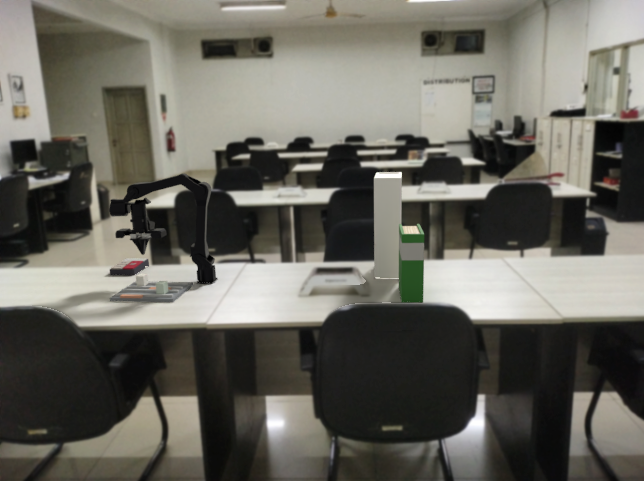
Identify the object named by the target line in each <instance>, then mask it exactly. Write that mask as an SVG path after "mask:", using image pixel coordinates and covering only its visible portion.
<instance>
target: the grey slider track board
mask: <svg viewBox="0 0 644 481" xmlns="http://www.w3.org/2000/svg"><path fill="white" fill-rule="evenodd" d="M158 282H159V281H148V284H147V285H146V286H137V283H136V280H135V281H133V282H132V283H131V284H129V285H127V286H125V287H124V288H122V289H121V290H120V291H118V292H116V293H114V295H112V296H110V297H109V301H110V302H132V303H133V302H137V303H139V302H141V303H143V302H144V303H149V302H150V303H175V301H177V300H178V299H179V298H180V297H181V296H182V295H184V294H185V293H186V292H187V291H188V290H189V289H191V288H192V287H193V286H194V281H167V282H168V292H167V293H166V294H156V283H158Z"/></svg>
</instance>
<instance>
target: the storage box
mask: <svg viewBox="0 0 644 481" xmlns="http://www.w3.org/2000/svg"><path fill="white" fill-rule="evenodd" d="M402 174H403V173H402V171H396V172H395V171H390V172H389V171H388V172H387V171H386V172H385V171H382V172H381V171H379V172H378V171H377V172H376V173H375V175H374V177H373V232H374V233H373V235H374V236H373V242H374V243H373V244H374V245H373V248H374V249H373V252H374V254H373V256H374V257H373V258H374V261H373V262H374V268H373V269H374V271H373V274H374V277H380V278H399V224H402V211H403V210H402V207H403V206H402V192H403V191H402V188H403V186H402V184H403V183H402V181H403V177H402V176H403V175H402Z"/></svg>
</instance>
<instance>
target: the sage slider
mask: <svg viewBox="0 0 644 481" xmlns="http://www.w3.org/2000/svg"><path fill="white" fill-rule="evenodd" d="M157 282H158V283H156V294H166V293H167V292H168V282H169V281H168V280H159V281H157Z"/></svg>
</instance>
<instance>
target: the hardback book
mask: <svg viewBox="0 0 644 481" xmlns="http://www.w3.org/2000/svg"><path fill="white" fill-rule="evenodd" d="M421 226H422V225H420V223H417V224H416V225H403V224H402V223H401V224H399V279H398V290H399V291H400V292H399V296H401V297H400V302H401V303H424V282H425V281H424V278H425V277H424V276H425V271H424V270H425V266H424V265H425V261H424V260H425V233H424V230H423V229H422V227H421Z"/></svg>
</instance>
